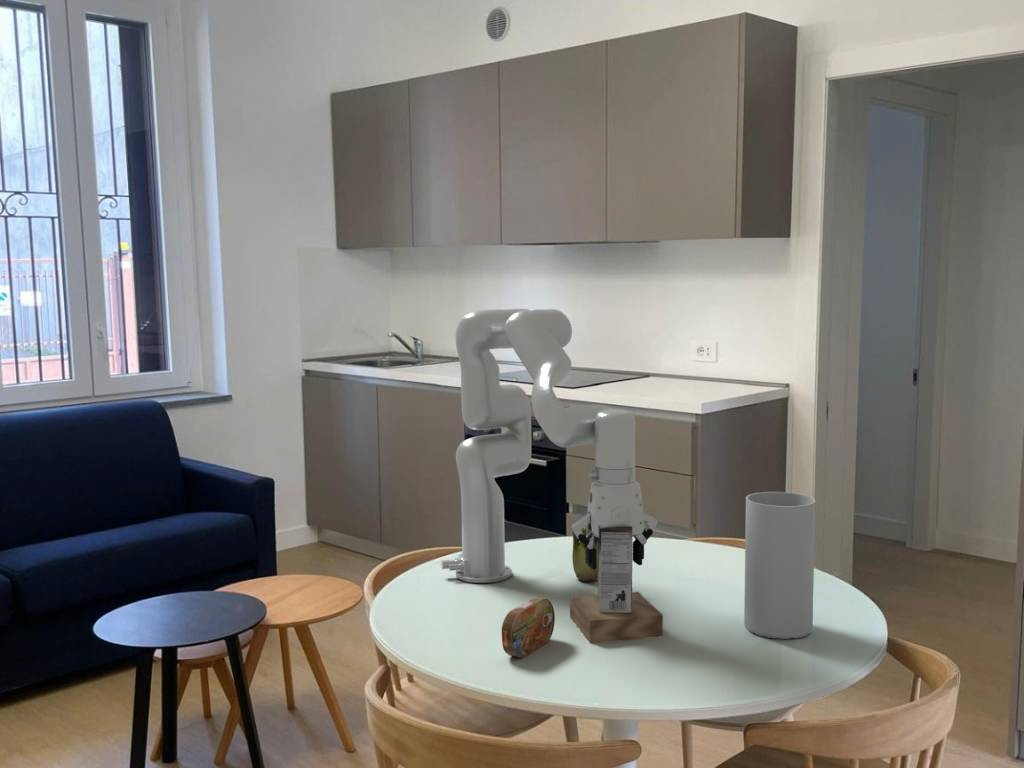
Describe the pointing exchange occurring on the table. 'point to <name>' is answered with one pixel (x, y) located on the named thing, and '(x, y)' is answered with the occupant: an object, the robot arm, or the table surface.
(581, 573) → the fennel bulb
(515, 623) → the tin
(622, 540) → the coffee box
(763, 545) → the cylinder vase
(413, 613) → the table surface
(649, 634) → the walnut block
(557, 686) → the table surface
